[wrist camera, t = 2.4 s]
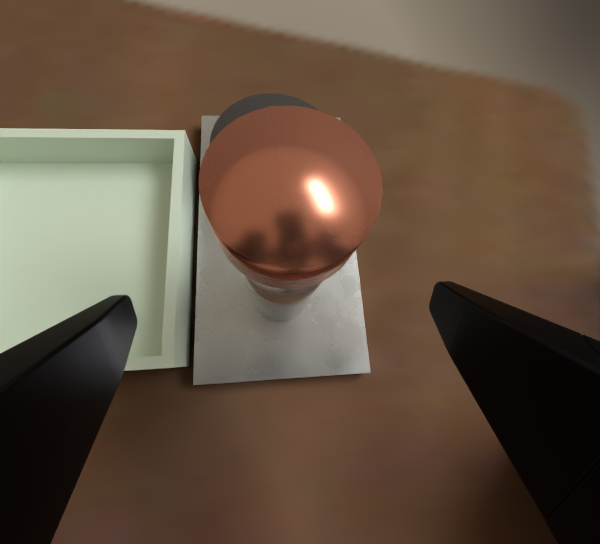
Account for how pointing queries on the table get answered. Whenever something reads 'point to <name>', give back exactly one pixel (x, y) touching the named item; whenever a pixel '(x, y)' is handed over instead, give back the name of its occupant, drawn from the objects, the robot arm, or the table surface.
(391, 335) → the table surface
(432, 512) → the table surface
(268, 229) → the glass spice jar
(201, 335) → the plate
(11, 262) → the tray
